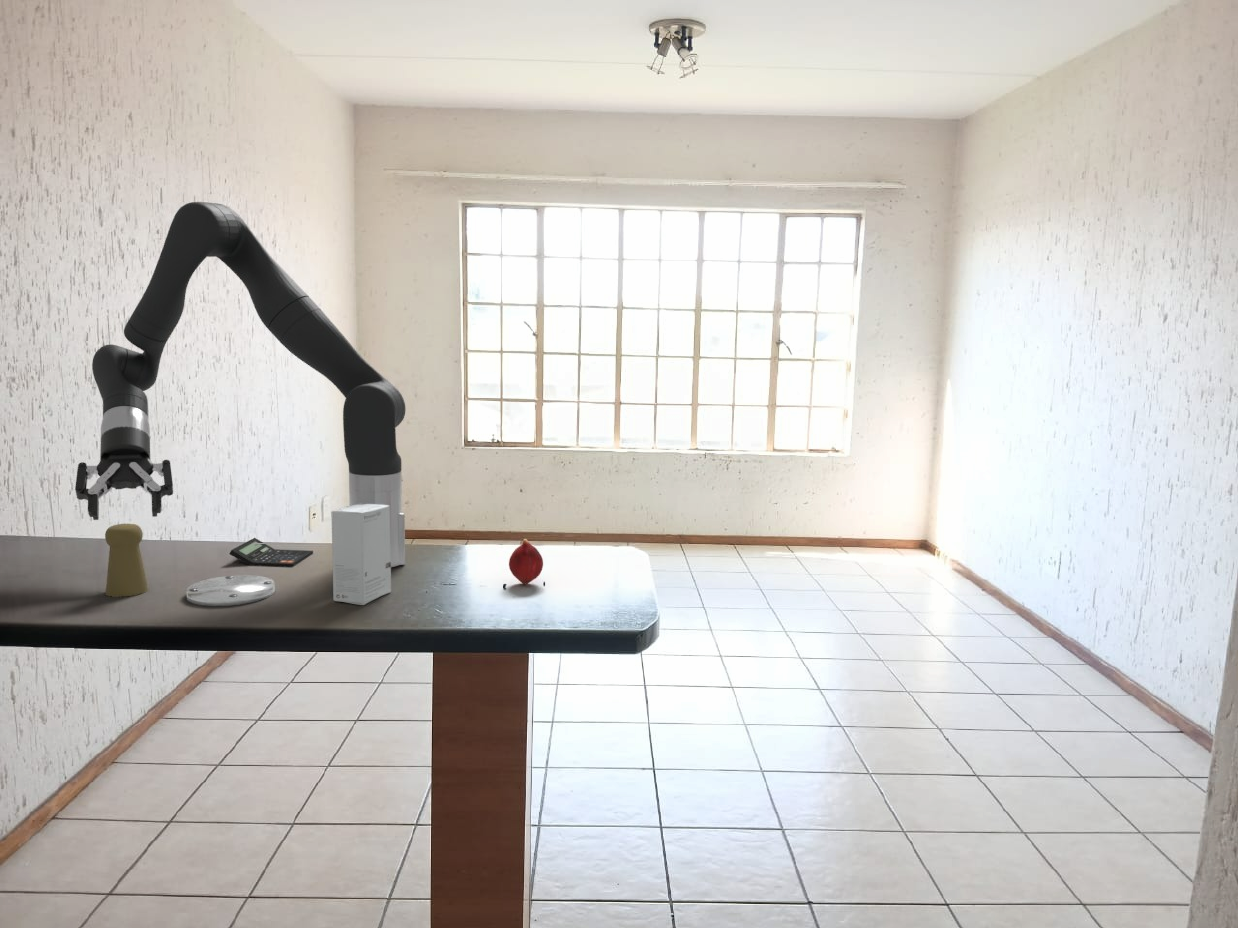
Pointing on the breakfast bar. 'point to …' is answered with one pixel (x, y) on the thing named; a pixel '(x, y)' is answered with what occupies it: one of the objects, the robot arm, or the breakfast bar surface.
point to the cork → (125, 561)
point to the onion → (526, 563)
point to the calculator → (268, 554)
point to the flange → (230, 590)
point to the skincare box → (361, 553)
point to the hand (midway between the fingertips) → (125, 515)
